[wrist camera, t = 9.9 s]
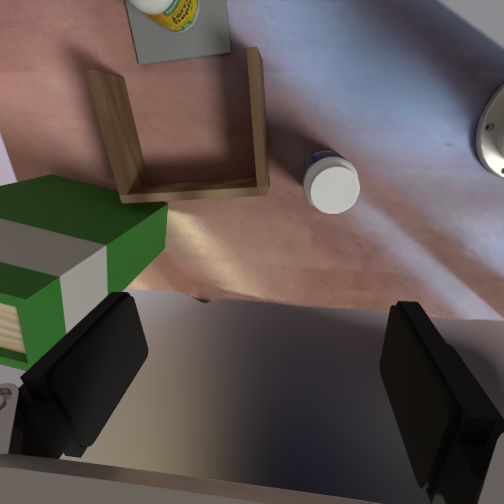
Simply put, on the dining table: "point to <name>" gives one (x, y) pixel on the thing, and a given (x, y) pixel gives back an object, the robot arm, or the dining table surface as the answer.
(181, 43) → the grey mat
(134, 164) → the wooden u-shaped frame
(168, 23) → the supplement bottle
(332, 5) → the dining table surface
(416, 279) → the dining table surface
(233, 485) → the robot arm
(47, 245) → the hardback book
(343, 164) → the pill bottle
